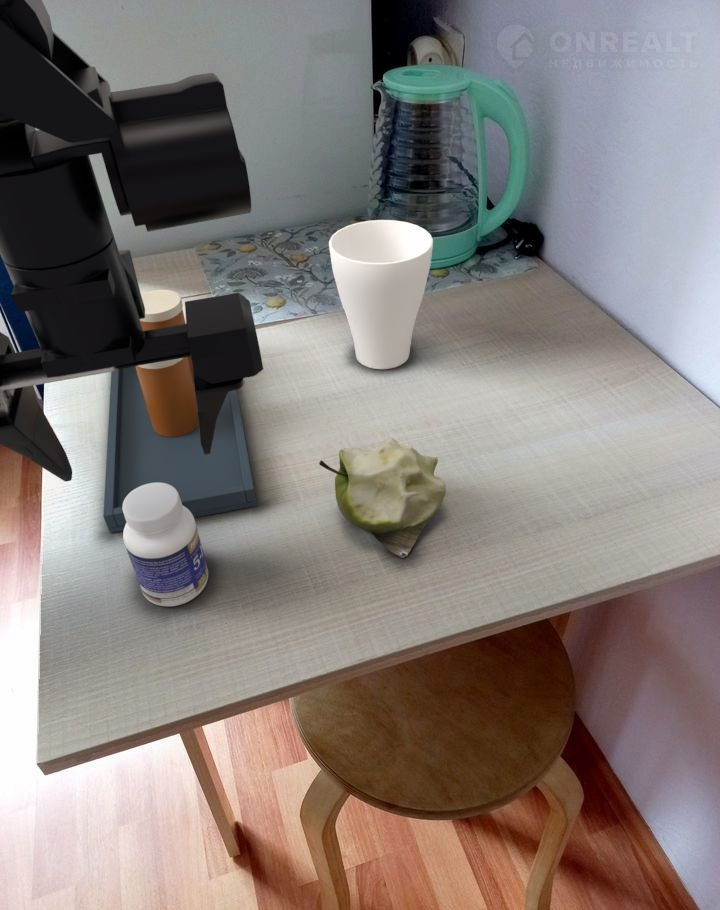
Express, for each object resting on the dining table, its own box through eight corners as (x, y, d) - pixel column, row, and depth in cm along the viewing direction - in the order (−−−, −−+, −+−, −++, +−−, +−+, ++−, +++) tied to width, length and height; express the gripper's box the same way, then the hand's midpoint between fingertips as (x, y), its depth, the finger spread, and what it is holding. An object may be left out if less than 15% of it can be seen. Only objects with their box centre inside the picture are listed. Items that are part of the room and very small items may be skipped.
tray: (109, 533, 60) (103, 516, 59) (117, 365, 80) (112, 349, 78) (257, 506, 62) (254, 488, 61) (228, 348, 82) (226, 332, 80)
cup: (380, 393, 74) (378, 275, 65) (317, 355, 80) (307, 241, 71) (448, 354, 79) (455, 239, 70) (383, 321, 85) (382, 211, 76)
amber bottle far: (151, 392, 74) (130, 316, 69) (150, 366, 78) (130, 293, 72) (198, 384, 75) (182, 309, 69) (196, 359, 79) (180, 286, 73)
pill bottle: (216, 595, 55) (195, 514, 49) (148, 617, 53) (118, 538, 47) (200, 547, 58) (179, 468, 53) (137, 568, 57) (107, 488, 51)
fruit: (321, 548, 60) (302, 469, 56) (371, 487, 66) (357, 412, 62) (420, 570, 55) (407, 486, 51) (463, 502, 62) (455, 423, 58)
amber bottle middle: (152, 442, 68) (129, 363, 62) (151, 411, 72) (129, 335, 66) (204, 433, 69) (186, 355, 63) (200, 403, 73) (183, 327, 67)
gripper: (223, 168, 44) (262, 373, 55) (-89, 213, 42) (13, 417, 52) (239, 241, 36) (281, 466, 46) (-147, 302, 34) (-13, 524, 44)
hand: (139, 463), depth 48 cm, fingers open, 9 cm apart
